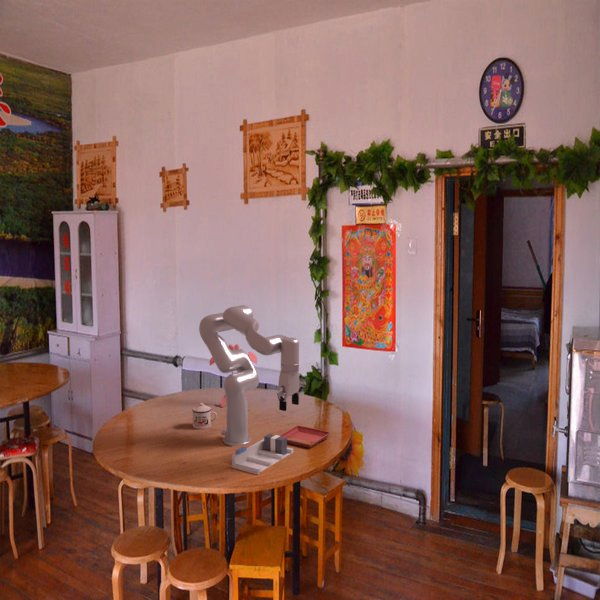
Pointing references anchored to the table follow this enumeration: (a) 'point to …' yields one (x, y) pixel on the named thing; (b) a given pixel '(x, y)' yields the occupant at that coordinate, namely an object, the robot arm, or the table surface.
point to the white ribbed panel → (256, 458)
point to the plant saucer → (305, 435)
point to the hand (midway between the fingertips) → (289, 407)
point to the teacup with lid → (202, 416)
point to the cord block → (275, 444)
